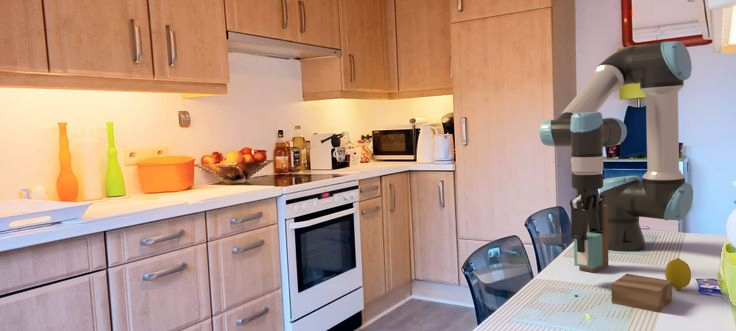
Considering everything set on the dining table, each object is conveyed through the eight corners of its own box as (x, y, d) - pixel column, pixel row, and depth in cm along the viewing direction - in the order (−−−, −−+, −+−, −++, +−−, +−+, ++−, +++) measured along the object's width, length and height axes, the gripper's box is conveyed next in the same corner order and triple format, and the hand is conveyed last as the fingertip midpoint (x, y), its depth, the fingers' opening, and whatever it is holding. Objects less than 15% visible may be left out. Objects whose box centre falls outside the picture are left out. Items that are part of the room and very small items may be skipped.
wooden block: (594, 273, 150) (593, 209, 149) (578, 270, 154) (578, 207, 152) (608, 266, 156) (608, 204, 155) (593, 264, 160) (593, 203, 158)
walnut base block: (626, 293, 133) (626, 273, 133) (671, 301, 126) (672, 280, 126) (611, 304, 126) (611, 283, 126) (658, 313, 119) (658, 291, 119)
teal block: (584, 261, 144) (583, 231, 143) (602, 264, 140) (602, 234, 140) (574, 265, 141) (573, 235, 140) (593, 268, 137) (592, 237, 136)
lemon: (660, 288, 135) (660, 257, 134) (676, 285, 137) (676, 254, 136) (679, 294, 130) (679, 262, 129) (696, 291, 132) (696, 259, 131)
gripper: (590, 168, 147) (591, 252, 149) (554, 175, 136) (556, 266, 138) (618, 169, 141) (619, 257, 143) (583, 177, 130) (584, 272, 132)
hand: (588, 261), depth 141 cm, fingers closed on teal block, 5 cm apart
